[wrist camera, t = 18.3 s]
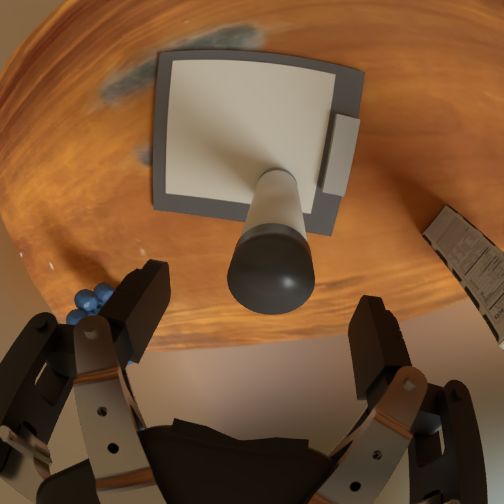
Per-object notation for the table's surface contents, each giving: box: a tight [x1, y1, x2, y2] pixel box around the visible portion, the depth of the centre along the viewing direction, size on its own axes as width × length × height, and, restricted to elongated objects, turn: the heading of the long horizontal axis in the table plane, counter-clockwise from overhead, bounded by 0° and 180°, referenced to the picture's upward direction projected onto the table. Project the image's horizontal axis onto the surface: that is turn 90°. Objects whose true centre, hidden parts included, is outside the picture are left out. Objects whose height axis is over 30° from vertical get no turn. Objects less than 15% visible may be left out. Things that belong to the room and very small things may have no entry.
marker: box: [227, 168, 315, 315], centre depth 18 cm, size 4×4×14 cm
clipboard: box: [153, 50, 365, 236], centre depth 22 cm, size 16×18×2 cm
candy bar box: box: [422, 204, 504, 350], centre depth 18 cm, size 11×5×16 cm, turn 60°
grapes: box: [66, 283, 134, 365], centre depth 29 cm, size 12×7×12 cm, turn 27°
